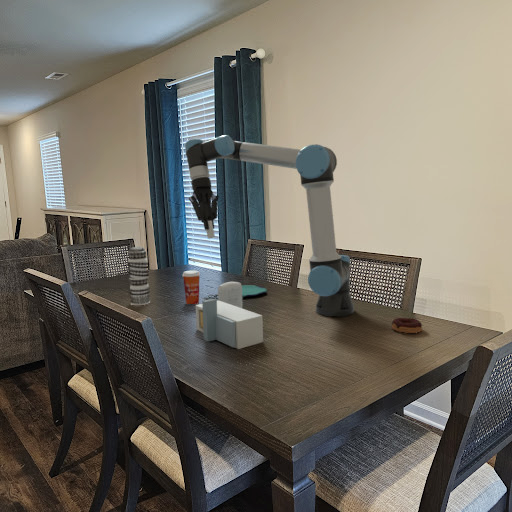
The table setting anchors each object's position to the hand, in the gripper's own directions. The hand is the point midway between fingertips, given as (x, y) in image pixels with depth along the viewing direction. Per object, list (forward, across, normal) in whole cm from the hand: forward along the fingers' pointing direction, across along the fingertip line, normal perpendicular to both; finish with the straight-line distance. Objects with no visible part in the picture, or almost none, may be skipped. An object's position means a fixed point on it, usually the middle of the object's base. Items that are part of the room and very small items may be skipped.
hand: (211, 237), depth 177 cm
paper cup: (+24, -4, -30) cm, 38 cm away
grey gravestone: (+30, -8, -8) cm, 32 cm away
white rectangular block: (+37, +10, +14) cm, 41 cm away
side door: (+38, +18, +20) cm, 47 cm away
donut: (+47, -38, +52) cm, 80 cm away
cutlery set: (+25, -27, -27) cm, 45 cm away
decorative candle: (+20, +13, -45) cm, 51 cm away
